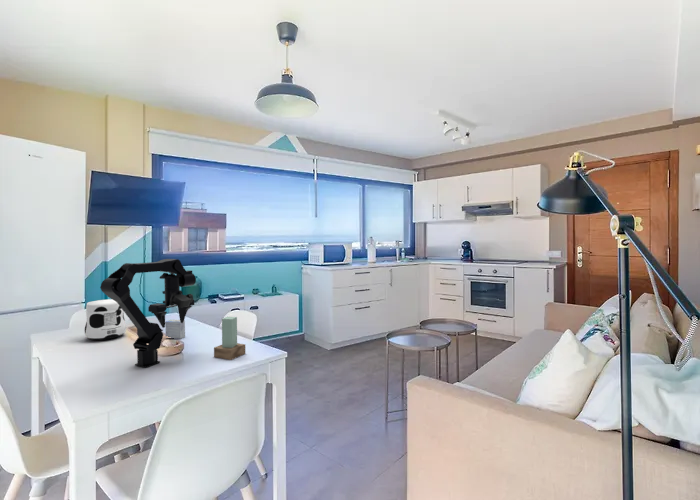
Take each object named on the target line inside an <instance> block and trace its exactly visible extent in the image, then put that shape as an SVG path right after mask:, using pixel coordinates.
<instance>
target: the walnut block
mask: <svg viewBox="0 0 700 500" xmlns="http://www.w3.org/2000/svg"><path fill="white" fill-rule="evenodd" d="M245 354H246V344H244V343H238V342H237V345H236V346H234V347H233V348H226V347H222V344H219V345H217V346H214V348H213V358H218V359H224V360H229V361H231V360H234V359H236V358H239V357H241V356H243V355H245ZM238 356H239V357H238Z"/></svg>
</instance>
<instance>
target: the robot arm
mask: <svg viewBox="0 0 700 500" xmlns="http://www.w3.org/2000/svg"><path fill="white" fill-rule="evenodd" d="M155 272H161V273H163V274H161V275H160V276H159V277H158V278H159V279H161V280H164V282H163V283H164V290H162V294H163V295H164V300H162V303H152V304H149V305H148V310H147V311H148V312H149V313H151V314H153V315H154V316H155V317H156V319H157V321H158V322H159V324H158V323H156V322H151V321H149V320H148V318H147V317H146V316H145V314H144V313H143V312H142V311H141V309H140V308H139V306H138V305H137V304H136V302H135V300H134V299H133V298H132V296H131V290H130V287H129V286H130V285H131V284H132V282H133V280H134V277H135V275H136V274H141V273H142V274H143V273H155ZM196 282H197V278H196V275H195V274H194V273H193V270H189V269H188V270H186V269H185V267H184V266H183V265H182V261H181V260H180V259H179V258H163V259H161V260H158V261H153V262H152V261H151V262H138V263H137V262H135V263H132V262H128V263H127V262H126V263H123V264H121V266H120V267H119V268H118V269H117V270H115V271H114V272H113V273H110V274H109V276H107V278H105V279H103V281H101V283H100V287H99V288H100V291H101V292H102V293H103V294H104V295H106V296H107V297H108V298H109V299H113V300H114V301H116V302H117V303H118V304H119V306H120V307H121V308H122V310H123V311H124V314H125V315H126V316H127V318H128V319H129V321H131V323H132V324H133V326H134V327H135V328H136V332H137V333H136V334H137V339H136V340H135V341H134V343H132V345H133V348H134V349H135V350H137V351H136V357H137V359H136V360H137V362H136V363H135V364H134V366H137V367H141V368H149V367H151V366H155V365H157V364H159V363H161V361H160V360H159V351H158V350H159V349H160V348H161V344H162V341H163V338H164V333H163V331H164V328H165V329H166V326H165V322H166V315H167V313H168V312H167V309H169V308H174V307H175V308H176V307H177V311H178V315H179V316H178V317H179V320H180V322H181V323H183V322H184V320H185V318H186V315H187V313H188V311H189V310H190V309H191V308H193V306H195V300H194V295H193V293H188V294H183V290H180V288H183V287H184V288H185V287H189V286H194V285H195V284H196ZM162 328H163V329H162Z"/></svg>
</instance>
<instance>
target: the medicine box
mask: <svg viewBox="0 0 700 500" xmlns="http://www.w3.org/2000/svg"><path fill="white" fill-rule="evenodd" d="M166 336H168V337H171V338H174V339H175V340H176V339H177V340H178V339H179V340H181V339H183V338H185V337H186V321H185V319H184V322H183V323H181V322H180V319H168V320H165V337H166Z"/></svg>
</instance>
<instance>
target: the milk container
mask: <svg viewBox="0 0 700 500" xmlns="http://www.w3.org/2000/svg"><path fill="white" fill-rule="evenodd" d="M85 309H86V311H85V314H86V315H85V316H86V321H85V325H84V335H85V338H86V339H88V340H93V341H103V340H111V339H115V338H118V337H120V336H123V335H124V334H125V333H126V330H127V323H126V320H125V316H124V314H125V312H124V311H123V310H122V308H121V307H120V306H119V304H118V303H117V302H116V301H114V300H113V299H111V298H109V299H98V300H93V301H88V302H86V306H85Z"/></svg>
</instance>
